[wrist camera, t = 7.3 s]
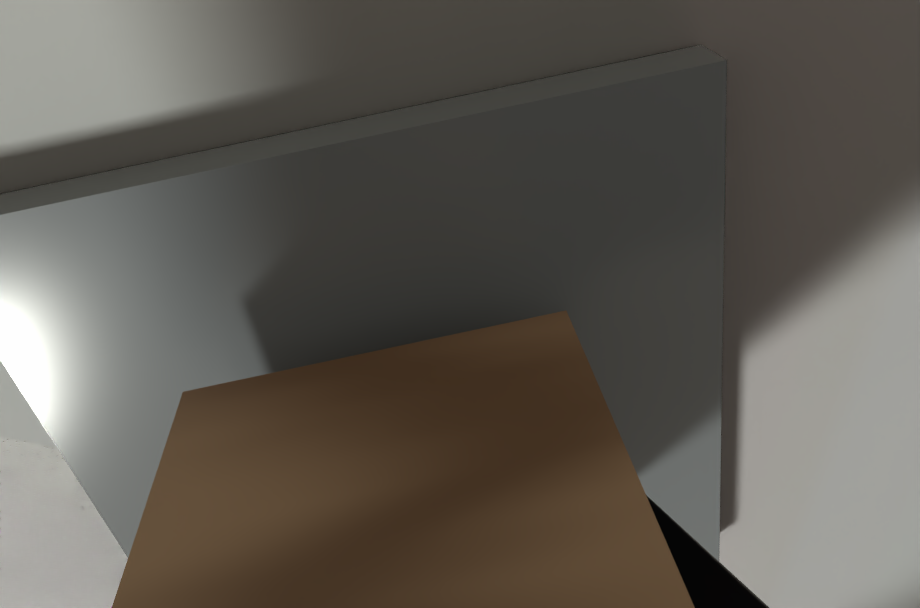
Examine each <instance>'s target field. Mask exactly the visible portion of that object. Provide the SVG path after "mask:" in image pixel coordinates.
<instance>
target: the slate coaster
mask: <svg viewBox="0 0 920 608" xmlns="http://www.w3.org/2000/svg"><path fill="white" fill-rule="evenodd" d="M726 81H727V60H726V59H724V58H723V57H721V56H719V55H718V54H716V53H714V52H713V51H711V50H709V49H708V48H706V47H704V46H703V45H698V46H694V47H689V48H684V49H679V50H675V51H670V52H665V53H661V54H656V55H651V56H647V57H642V58H637V59H633V60H628V61H623V62H618V63H614V64H609V65H604V66H600V67H595V68H590V69H586V70H581V71H576V72H572V73H567V74H562V75H557V76H553V77H548V78H543V79H539V80H534V81H529V82H525V83H520V84H515V85H511V86H506V87H501V88H496V89H492V90H487V91H482V92H478V93H473V94H468V95H464V96H459V97H454V98H450V99H445V100H440V101H435V102H431V103H426V104H421V105H417V106H412V107H407V108H403V109H398V110H393V111H389V112H384V113H379V114H374V115H370V116H365V117H360V118H356V119H351V120H346V121H342V122H337V123H332V124H328V125H323V126H318V127H314V128H309V129H304V130H299V131H295V132H290V133H285V134H281V135H276V136H271V137H267V138H262V139H257V140H253V141H248V142H243V143H238V144H234V145H229V146H224V147H220V148H215V149H210V150H206V151H201V152H196V153H192V154H187V155H182V156H177V157H173V158H168V159H163V160H159V161H154V162H149V163H145V164H140V165H135V166H131V167H126V168H121V169H116V170H112V171H107V172H102V173H98V174H93V175H88V176H84V177H79V178H74V179H70V180H65V181H60V182H55V183H51V184H46V185H41V186H37V187H32V188H27V189H23V190H18V191H13V192H9V193H4V194H0V360H1V362H2V363H3V365H4V366H5V368H6V369H7V371H8V372H9V374H10V376H11V377H12V379H13V380H14V382H15V383H16V385H17V386H18V388H19V389H20V391H21V393H22V394H23V396H24V397H25V399H26V400H27V402H28V403H29V405H30V407H31V408H32V410H33V411H34V413H35V414H36V416H37V417H38V419H39V421H40V422H41V424H42V425H43V427H44V428H45V430H46V431H47V433H48V434H49V436H50V438H51V439H52V441H53V442H54V444H55V445H56V447H57V448H58V450H59V452H60V453H61V455H62V456H63V458H64V459H65V461H66V462H67V464H68V465H69V467H70V469H71V470H72V472H73V473H74V475H75V476H76V478H77V479H78V481H79V483H80V484H81V486H82V487H83V489H84V490H85V492H86V493H87V495H88V496H89V498H90V500H91V501H92V503H93V504H94V506H95V507H96V509H97V510H98V512H99V514H100V515H101V517H102V518H103V520H104V521H105V523H106V524H107V526H108V528H109V529H110V531H111V532H112V534H113V535H114V537H115V538H116V540H117V541H118V543H119V545H120V546H121V548H122V549H123V551H124V552H125V554H126V555H127V557H129V554H130V551H131V548H132V545H133V542H134V539H135V536H136V533H137V530H138V527H139V524H140V521H141V518H142V515H143V512H144V509H145V506H146V502H147V499H148V496H149V493H150V490H151V487H152V484H153V481H154V478H155V475H156V472H157V469H158V466H159V463H160V460H161V457H162V454H163V451H164V448H165V445H166V442H167V439H168V436H169V432H170V429H171V426H172V423H173V420H174V417H175V414H176V411H177V408H178V405H179V402H180V399H181V396H182V393H183V392H184V391H189V390H194V389H198V388H203V387H208V386H212V385H217V384H222V383H227V382H231V381H236V380H241V379H245V378H250V377H255V376H260V375H264V374H269V373H274V372H278V371H283V370H288V369H293V368H297V367H302V366H307V365H311V364H316V363H321V362H326V361H330V360H335V359H340V358H344V357H349V356H354V355H358V354H363V353H368V352H373V351H377V350H382V349H387V348H391V347H396V346H401V345H406V344H410V343H415V342H420V341H424V340H429V339H434V338H439V337H443V336H448V335H453V334H457V333H462V332H467V331H472V330H476V329H481V328H486V327H490V326H495V325H500V324H504V323H509V322H514V321H519V320H523V319H528V318H533V317H537V316H542V315H547V314H552V313H556V312H561V311H567V313H568V316H569V318H570V320H571V322H572V325H573V327H574V329H575V332H576V334H577V336H578V339H579V341H580V343H581V346H582V348H583V350H584V353H585V355H586V357H587V359H588V362H589V364H590V366H591V369H592V371H593V373H594V376H595V378H596V380H597V383H598V385H599V387H600V390H601V392H602V394H603V397H604V399H605V401H606V403H607V406H608V408H609V410H610V413H611V415H612V417H613V420H614V422H615V424H616V427H617V429H618V431H619V434H620V436H621V438H622V441H623V443H624V445H625V447H626V450H627V452H628V454H629V457H630V459H631V461H632V464H633V466H634V468H635V471H636V473H637V475H638V478H639V480H640V482H641V485H642V487H643V489H644V491H645V494H646V495H647V496H648V497H649V498H650V499H651V500H652V501H653V502H654V503H656V504H657V505H658V506H659V507H660V508H661V509H662V510H663V511H664V512H665V513H666V514H668V515H669V516H670V517H671V518H672V519H673V520H674V521H675V522H676V523H677V524H678V525H680V526H681V527H682V528H683V529H684V530H685V531H686V532H687V533H688V534H689V535H690V536H692V537H693V538H694V539H695V540H696V541H697V542H698V543H699V544H700V545H701V546H702V547H704V548H705V549H706V550H707V551H708V552H709V553H710V554H711V555H712V556H713V557H714V558H716V559H717V560H718V561H719V540H720V474H721V409H722V343H723V278H724V212H725V147H726Z"/></svg>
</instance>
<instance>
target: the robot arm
mask: <svg viewBox="0 0 920 608" xmlns="http://www.w3.org/2000/svg"><path fill="white" fill-rule="evenodd" d="M646 496H647V495H646ZM647 498H648V501H649V503H650V505H651V508H652V510H653V512H654V515H655V517H656V519H657V522H658V524H659V526H660V529H661V531H662V533H663V535H664V538H665V540H666V542H667V545H668V547H669V549H670V552H671V554H672V556H673V559H674V561H675V563H676V566H677V568H678V570H679V573H680V575H681V577H682V579H683V582H684V584H685V586H686V589H687V591H688V593H689V596H690V598H691V600H692V603H693V605H694V607H695V608H769V607H768V606H767V605H766V604H765V603H763V602H762V601H761V600H760V599H759V598H758V597H757V596H756V595H755V594H754V593H753V592H751V591H750V590H749V589H748V588H747V587H746V586H745V585H744V584H743V583H742V582H741V581H739V580H738V579H737V578H736V577H735V576H734V575H733V574H732V573H731V572H730V571H729V570H727V569H726V568H725V567H724V566H723V565H722V564H721V563H720V562H719V561H718V560H717V559H716V558H714V557H713V556H712V555H711V554H710V553H709V552H708V551H707V550H706V549H705V548H704V547H702V546H701V545H700V544H699V543H698V542H697V541H696V540H695V539H694V538H693V537H692V536H690V535H689V534H688V533H687V532H686V531H685V530H684V529H683V528H682V527H681V526H680V525H678V524H677V523H676V522H675V521H674V520H673V519H672V518H671V517H670V516H669V515H668V514H666V513H665V512H664V511H663V510H662V509H661V508H660V507H659V506H658V505H657V504H656V503H654V502H653V501H652V500H651V499H650V498H649V497H648V496H647Z"/></svg>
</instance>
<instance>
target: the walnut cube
mask: <svg viewBox="0 0 920 608" xmlns="http://www.w3.org/2000/svg"><path fill="white" fill-rule="evenodd" d="M112 608H695V607H694V605H693V603H692V600H691V598H690V596H689V593H688V591H687V589H686V586H685V584H684V582H683V579H682V577H681V575H680V573H679V570H678V568H677V566H676V563H675V561H674V559H673V556H672V554H671V552H670V549H669V547H668V545H667V542H666V540H665V538H664V535H663V533H662V531H661V529H660V526H659V524H658V522H657V519H656V517H655V515H654V512H653V510H652V508H651V505H650V503H649V501H648V498H647V496H646V494H645V491H644V489H643V487H642V485H641V482H640V480H639V478H638V475H637V473H636V471H635V468H634V466H633V464H632V461H631V459H630V457H629V454H628V452H627V450H626V447H625V445H624V443H623V441H622V438H621V436H620V434H619V431H618V429H617V427H616V424H615V422H614V420H613V417H612V415H611V413H610V410H609V408H608V406H607V403H606V401H605V399H604V397H603V394H602V392H601V390H600V387H599V385H598V383H597V380H596V378H595V376H594V373H593V371H592V369H591V366H590V364H589V362H588V359H587V357H586V355H585V353H584V350H583V348H582V346H581V343H580V341H579V339H578V336H577V334H576V332H575V329H574V327H573V325H572V322H571V320H570V318H569V316H568V313H567V311H561V312H556V313H552V314H547V315H542V316H537V317H533V318H528V319H523V320H519V321H514V322H509V323H504V324H500V325H495V326H490V327H486V328H481V329H476V330H472V331H467V332H462V333H457V334H453V335H448V336H443V337H439V338H434V339H429V340H424V341H420V342H415V343H410V344H406V345H401V346H396V347H391V348H387V349H382V350H377V351H373V352H368V353H363V354H358V355H354V356H349V357H344V358H340V359H335V360H330V361H326V362H321V363H316V364H311V365H307V366H302V367H297V368H293V369H288V370H283V371H278V372H274V373H269V374H264V375H260V376H255V377H250V378H245V379H241V380H236V381H231V382H227V383H222V384H217V385H212V386H208V387H203V388H198V389H194V390H189V391H184V392H183V393H182V396H181V399H180V402H179V405H178V408H177V411H176V414H175V417H174V420H173V423H172V426H171V429H170V432H169V436H168V439H167V442H166V445H165V448H164V451H163V454H162V457H161V460H160V463H159V466H158V469H157V472H156V475H155V478H154V481H153V484H152V487H151V490H150V493H149V496H148V499H147V502H146V506H145V509H144V512H143V515H142V518H141V521H140V524H139V527H138V530H137V533H136V536H135V539H134V542H133V545H132V548H131V551H130V554H129V557H128V560H127V563H126V566H125V569H124V572H123V576H122V579H121V582H120V585H119V588H118V591H117V594H116V597H115V600H114V603H113V606H112Z"/></svg>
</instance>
